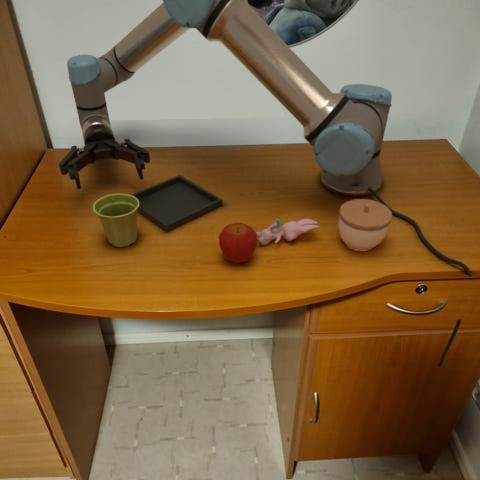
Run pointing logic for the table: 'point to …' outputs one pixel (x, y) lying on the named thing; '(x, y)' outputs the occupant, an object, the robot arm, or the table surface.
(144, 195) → the drip tray
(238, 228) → the apple
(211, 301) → the table surface
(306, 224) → the pink toy figurine
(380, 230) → the trinket box
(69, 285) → the table surface
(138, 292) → the table surface
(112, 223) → the plant pot
